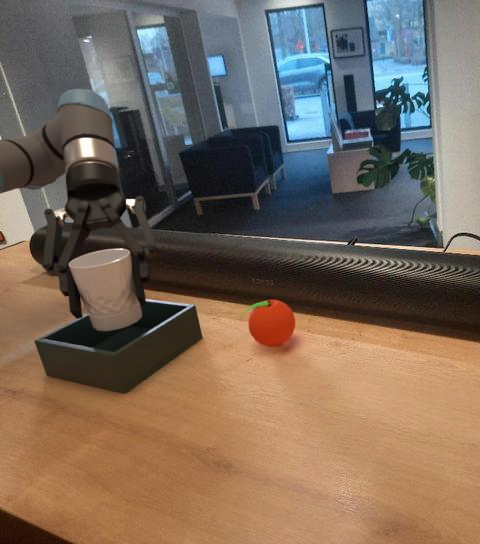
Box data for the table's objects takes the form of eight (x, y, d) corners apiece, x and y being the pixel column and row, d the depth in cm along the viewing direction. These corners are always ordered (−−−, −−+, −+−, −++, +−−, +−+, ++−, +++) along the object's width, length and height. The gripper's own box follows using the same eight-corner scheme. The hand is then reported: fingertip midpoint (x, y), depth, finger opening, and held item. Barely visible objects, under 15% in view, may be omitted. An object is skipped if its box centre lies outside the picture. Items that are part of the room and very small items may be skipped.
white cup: (146, 325, 71) (128, 259, 67) (86, 339, 68) (63, 272, 65) (147, 305, 78) (131, 244, 74) (92, 317, 75) (72, 255, 72)
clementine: (242, 358, 72) (233, 314, 69) (248, 336, 78) (240, 295, 75) (297, 352, 72) (291, 308, 69) (298, 330, 78) (292, 289, 76)
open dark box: (46, 375, 72) (33, 340, 69) (130, 326, 85) (122, 295, 83) (125, 393, 66) (113, 355, 63) (203, 337, 79) (195, 304, 77)
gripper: (166, 180, 83) (189, 302, 75) (28, 199, 77) (37, 334, 69) (158, 151, 77) (182, 281, 68) (6, 170, 71) (13, 314, 62)
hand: (109, 307), depth 69 cm, fingers closed on white cup, 8 cm apart
